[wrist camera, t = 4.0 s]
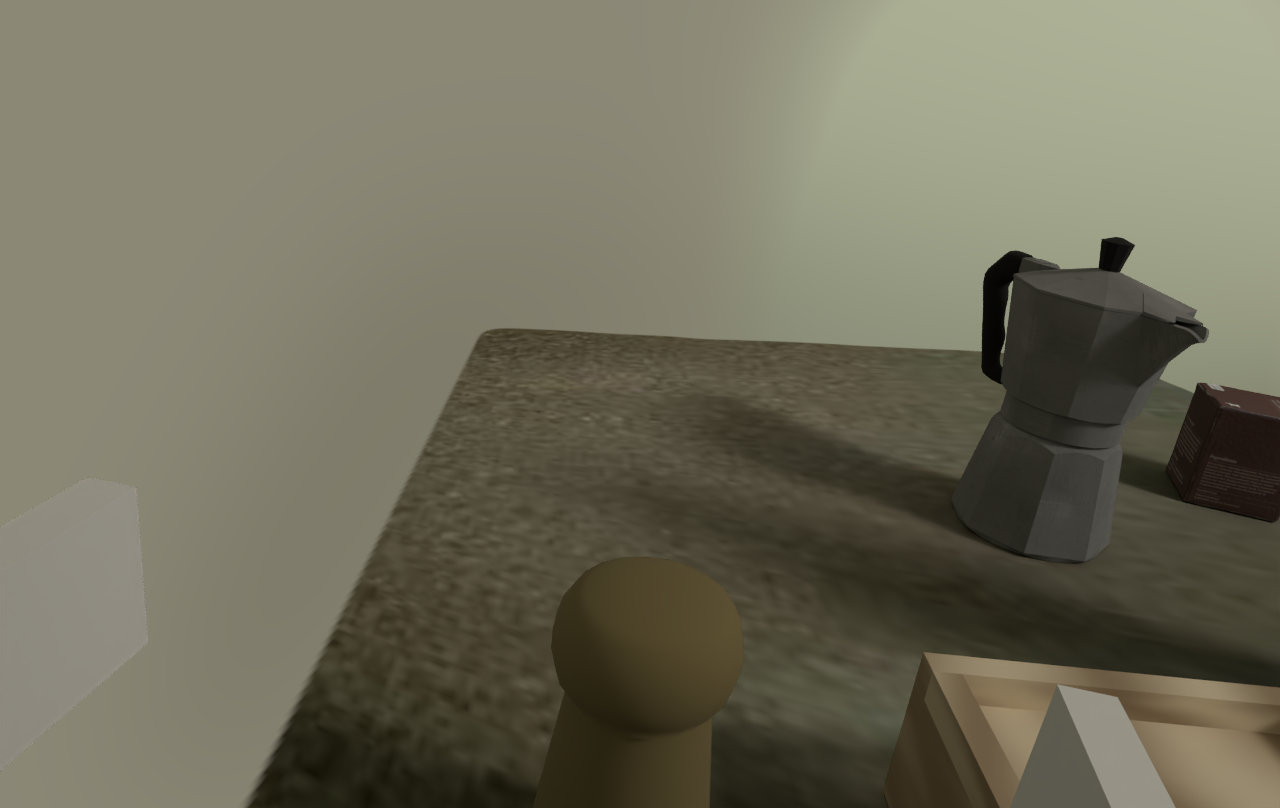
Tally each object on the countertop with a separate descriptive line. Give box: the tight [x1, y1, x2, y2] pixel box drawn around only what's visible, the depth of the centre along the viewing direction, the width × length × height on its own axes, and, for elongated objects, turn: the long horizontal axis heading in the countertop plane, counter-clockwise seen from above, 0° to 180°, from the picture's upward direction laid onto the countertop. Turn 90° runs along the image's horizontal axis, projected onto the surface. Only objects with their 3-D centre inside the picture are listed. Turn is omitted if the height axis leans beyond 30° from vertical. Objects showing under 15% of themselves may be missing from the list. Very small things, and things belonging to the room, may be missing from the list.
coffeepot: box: [951, 237, 1209, 563], centre depth 52 cm, size 15×9×18 cm, turn 20°
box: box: [1166, 383, 1280, 522], centre depth 62 cm, size 6×6×7 cm
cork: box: [533, 557, 744, 808], centre depth 25 cm, size 6×6×11 cm
